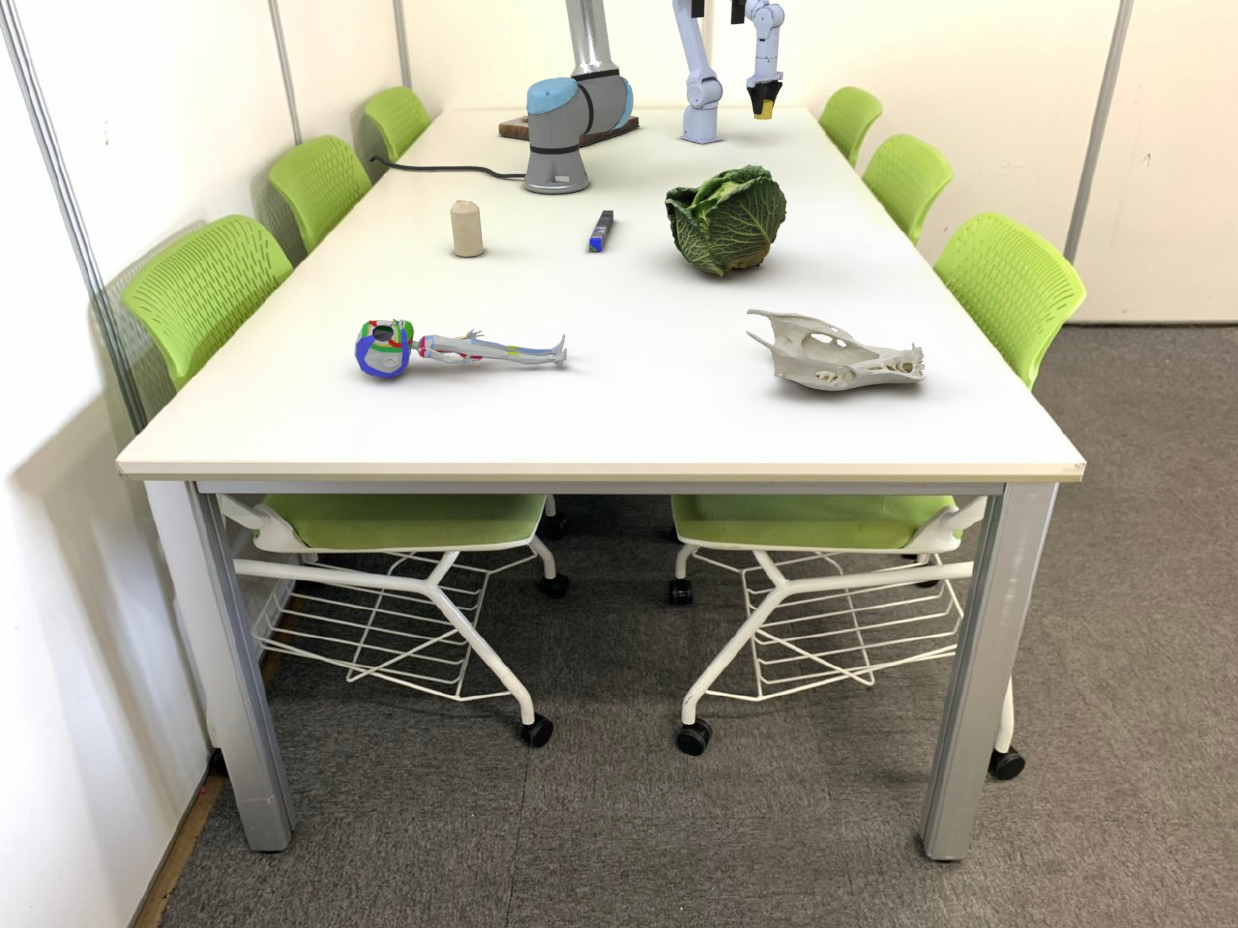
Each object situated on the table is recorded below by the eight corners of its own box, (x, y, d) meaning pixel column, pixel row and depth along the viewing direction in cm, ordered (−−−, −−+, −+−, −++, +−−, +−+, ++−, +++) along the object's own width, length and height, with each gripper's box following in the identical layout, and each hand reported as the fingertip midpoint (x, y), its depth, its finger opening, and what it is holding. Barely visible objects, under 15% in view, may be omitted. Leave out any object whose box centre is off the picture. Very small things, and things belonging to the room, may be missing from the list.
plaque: (578, 121, 243) (496, 109, 258) (578, 149, 246) (497, 135, 261) (641, 104, 264) (562, 94, 278) (641, 129, 267) (563, 118, 282)
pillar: (613, 210, 190) (600, 241, 173) (613, 220, 191) (600, 251, 174) (603, 210, 190) (589, 240, 173) (603, 220, 191) (589, 251, 174)
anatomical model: (747, 299, 130) (925, 301, 126) (745, 356, 135) (916, 360, 131) (744, 342, 118) (940, 346, 114) (742, 403, 123) (930, 410, 119)
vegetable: (694, 294, 173) (643, 202, 166) (775, 239, 175) (728, 145, 167) (734, 307, 155) (678, 205, 147) (824, 245, 156) (773, 141, 149)
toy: (569, 347, 126) (349, 329, 122) (563, 400, 131) (350, 385, 126) (565, 318, 135) (359, 301, 130) (559, 369, 139) (360, 354, 134)
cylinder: (764, 120, 237) (765, 103, 234) (750, 118, 240) (751, 101, 237) (775, 118, 239) (776, 101, 237) (761, 115, 242) (762, 98, 240)
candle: (488, 249, 176) (483, 198, 171) (475, 258, 172) (470, 206, 167) (463, 246, 178) (457, 196, 173) (450, 255, 174) (443, 204, 168)
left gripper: (780, -108, 158) (771, 25, 169) (700, -106, 176) (697, 14, 188) (746, -108, 155) (739, 28, 166) (668, -106, 173) (667, 16, 185)
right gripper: (764, 62, 225) (760, 119, 232) (794, 55, 234) (790, 110, 241) (740, 59, 229) (737, 115, 236) (771, 52, 238) (768, 106, 245)
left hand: (717, 21), depth 177 cm, fingers open, 13 cm apart
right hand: (762, 112), depth 239 cm, fingers closed on cylinder, 5 cm apart
